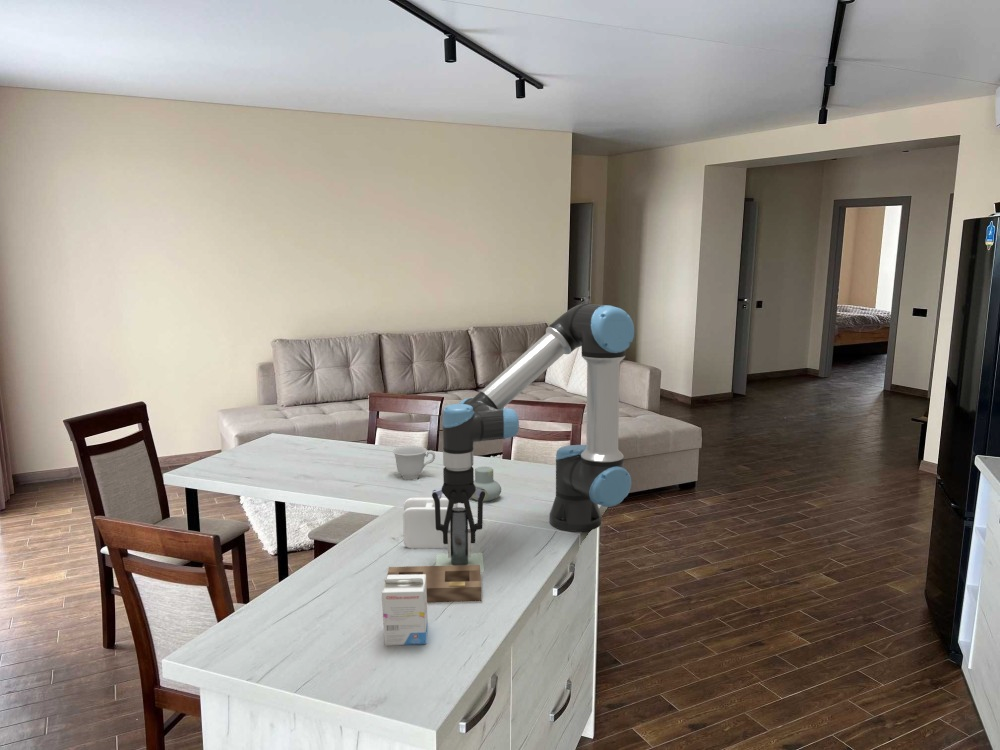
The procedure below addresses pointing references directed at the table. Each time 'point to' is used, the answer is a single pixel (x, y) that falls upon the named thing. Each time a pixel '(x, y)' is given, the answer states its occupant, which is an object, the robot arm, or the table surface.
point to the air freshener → (486, 483)
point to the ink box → (405, 609)
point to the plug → (459, 536)
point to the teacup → (411, 460)
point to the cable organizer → (423, 523)
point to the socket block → (447, 582)
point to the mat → (473, 560)
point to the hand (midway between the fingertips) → (459, 555)
